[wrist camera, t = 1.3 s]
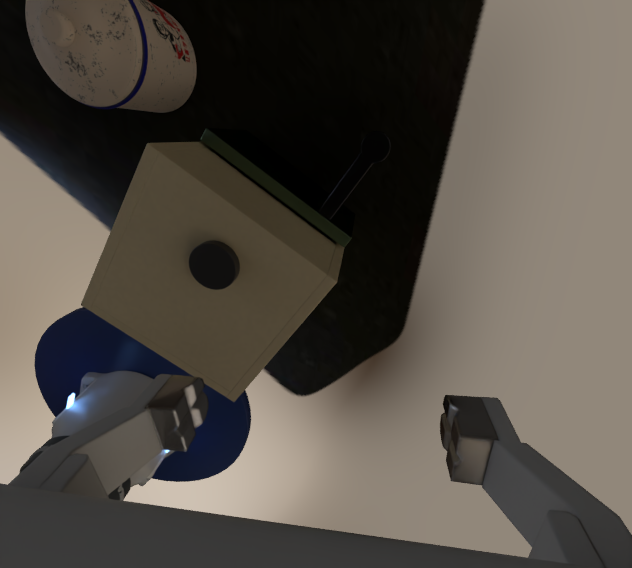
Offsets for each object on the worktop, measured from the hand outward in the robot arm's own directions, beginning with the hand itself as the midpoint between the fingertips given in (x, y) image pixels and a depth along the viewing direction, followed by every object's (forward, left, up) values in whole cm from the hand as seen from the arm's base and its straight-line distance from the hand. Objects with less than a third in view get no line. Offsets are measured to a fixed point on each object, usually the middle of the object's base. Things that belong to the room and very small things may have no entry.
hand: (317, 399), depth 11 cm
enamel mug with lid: (0, +26, -27) cm, 37 cm away
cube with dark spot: (-8, +7, -27) cm, 29 cm away
